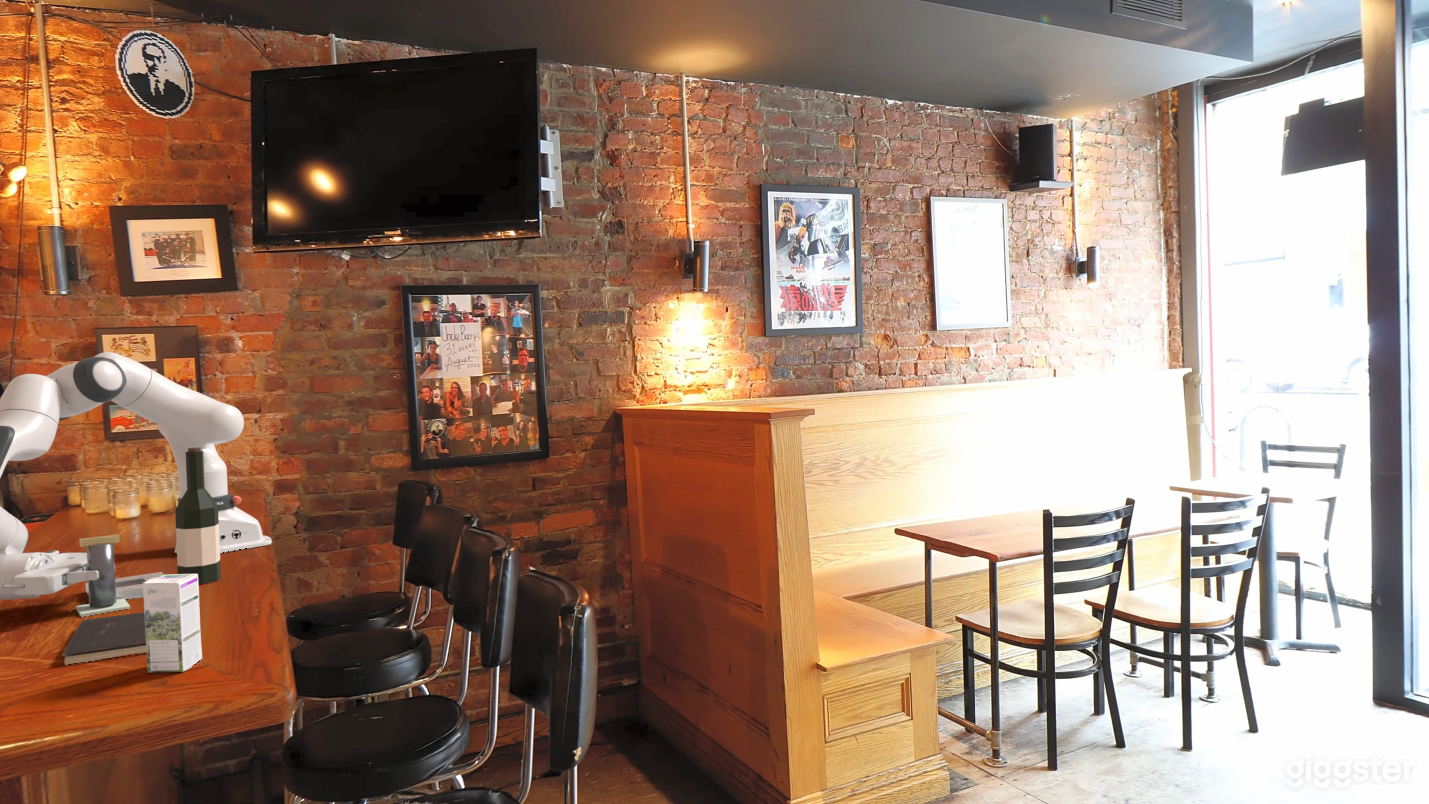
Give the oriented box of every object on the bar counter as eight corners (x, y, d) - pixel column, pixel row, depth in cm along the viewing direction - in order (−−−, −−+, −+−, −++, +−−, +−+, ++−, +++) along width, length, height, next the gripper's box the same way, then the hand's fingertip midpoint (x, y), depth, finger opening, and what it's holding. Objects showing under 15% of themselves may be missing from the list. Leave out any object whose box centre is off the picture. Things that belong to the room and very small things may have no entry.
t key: (120, 598, 177) (117, 533, 177) (123, 602, 174) (120, 536, 173) (81, 604, 173) (78, 537, 172) (84, 609, 170) (81, 541, 169)
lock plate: (162, 580, 196) (161, 571, 196) (174, 592, 186) (173, 582, 186) (85, 592, 187) (85, 582, 187) (94, 605, 177) (93, 595, 177)
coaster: (124, 601, 179) (124, 598, 179) (130, 609, 173) (130, 606, 173) (76, 608, 174) (76, 605, 174) (80, 617, 168) (80, 614, 168)
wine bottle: (229, 576, 199) (224, 445, 198) (204, 585, 191) (198, 449, 190) (195, 576, 200) (189, 446, 199) (169, 585, 192) (163, 449, 190)
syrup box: (203, 660, 142) (199, 571, 141) (182, 673, 136) (178, 580, 135) (168, 661, 141) (163, 572, 141) (145, 674, 136) (141, 581, 135)
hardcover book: (62, 669, 140) (61, 655, 140) (82, 632, 160) (82, 620, 160) (178, 652, 148) (178, 638, 148) (184, 618, 168) (184, 606, 168)
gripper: (-6, 571, 160) (78, 567, 163) (54, 548, 180) (129, 545, 183) (-4, 605, 161) (80, 600, 163) (56, 579, 181) (130, 574, 183)
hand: (106, 571), depth 173 cm, fingers closed on t key, 4 cm apart
